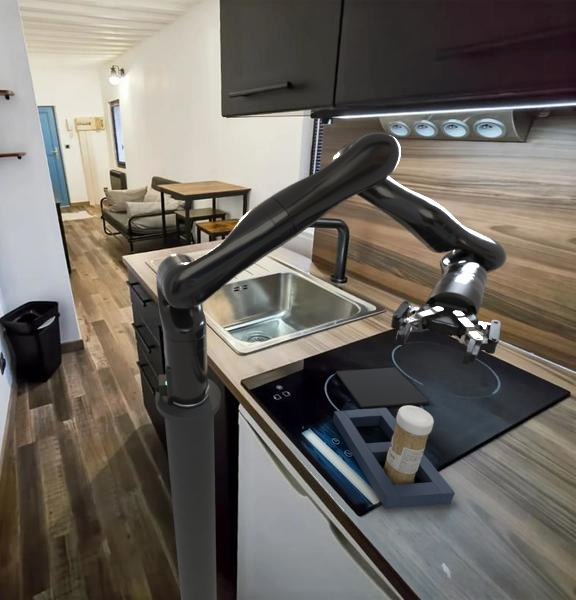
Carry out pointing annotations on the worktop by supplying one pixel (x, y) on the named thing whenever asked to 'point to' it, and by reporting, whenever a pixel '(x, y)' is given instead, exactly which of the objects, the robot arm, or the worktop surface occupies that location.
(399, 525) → the worktop surface
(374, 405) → the mat
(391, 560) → the worktop surface
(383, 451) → the holder
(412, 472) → the sprinkles bottle
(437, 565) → the worktop surface
